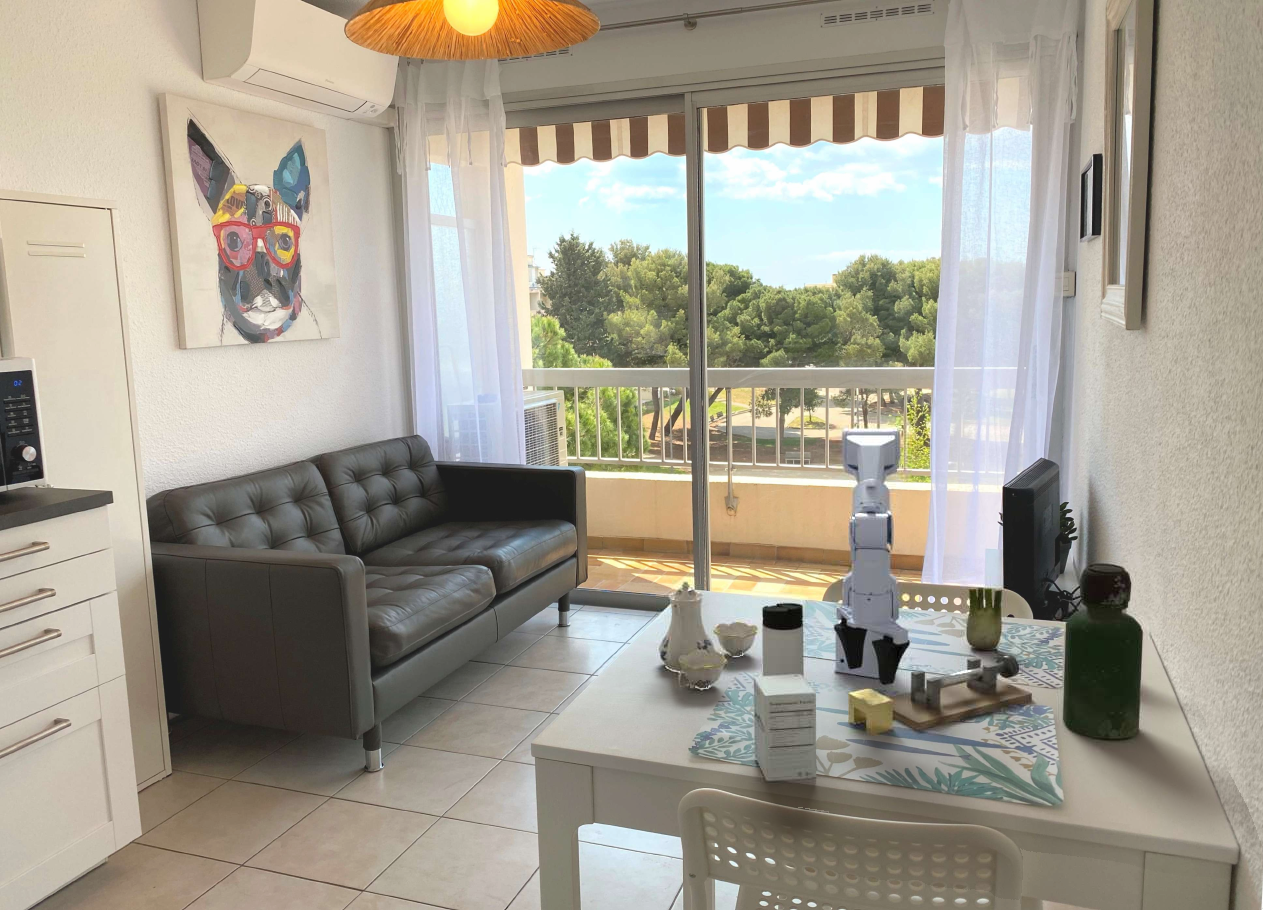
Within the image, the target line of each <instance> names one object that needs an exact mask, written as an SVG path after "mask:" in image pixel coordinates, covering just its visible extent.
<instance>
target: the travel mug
mask: <svg viewBox="0 0 1263 910" xmlns="http://www.w3.org/2000/svg"><path fill="white" fill-rule="evenodd" d="M761 609H762V612H761V613H762V617H761V618H762V623H761V626H762V627H761V631H762V633H761V635H762V637H761V638H762V642H761V643H762V645H761V647H762V676H775V675H788V674H802V676H803V677H804V676H805V675H804V674H805V673H804V667H805V666H804V665H805V664H804V612H803V611H804V607H803V605H802V604H800V603H795V602H794V603H793V602H780V603H776V604H775V605H774V604H773V605H765V606H763V607H762V608H761ZM804 678H805V677H804Z"/></svg>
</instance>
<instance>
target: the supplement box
mask: <svg viewBox="0 0 1263 910" xmlns="http://www.w3.org/2000/svg"><path fill="white" fill-rule="evenodd" d="M816 697H817V695H816V692H815V690H814V689H813V688H812V686H811V685H810V684H809V682H808V681H807V680H806V678H805V677H803V676H802V674H788V675H775V676H763V675H762V676H754V677H753V704H754V705H753V707H754V708H753V709H754V710H753V717H754V718H753V721H754V724H753V725H754V729H753V730H754V759H755V758H756V759H757V761H758V762H757V761H756V762H757V764H758V763H759V764H758V766H759V768H760V770H761V772H762V774H763V776H764V778H765V781H767V782H776V781H777V782H778V781H779V782H780V781H789V780H791V781H793V780H805V779H806V780H807V778H808V779H815V778H816V777H817V698H816ZM756 759H755V760H756ZM814 777H815V778H814Z"/></svg>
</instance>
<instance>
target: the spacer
mask: <svg viewBox="0 0 1263 910" xmlns="http://www.w3.org/2000/svg"><path fill="white" fill-rule="evenodd" d="M849 721H851V722H852V723H858V722H862V723H864V722H863V721H866V722H865V723H866V730H865V731H866V733H868V734H869V735H871V736H872V735H876V734H879V733H884V732H888V731H892V730H893V726H894V725H893V721H894V717H893V700H891V699H889V697H888V696H885V695H884V694H882V693H879V692H878V691H875V690H873V689H871V688H870V687H869V688H865V689H860V690H856V691H852V692H848V722H849ZM851 722H850V723H851ZM852 723H851V724H852ZM858 724H859V723H858Z"/></svg>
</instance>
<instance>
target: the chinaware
mask: <svg viewBox="0 0 1263 910" xmlns="http://www.w3.org/2000/svg"><path fill="white" fill-rule="evenodd" d="M690 586H691V585H690V584H689V582H688V581H683V582H682V585H681V587H679V588H678V589H677V590H676V591H675V592H672V593H670V594H668V597H667V598H669V601H670V602H669V603H670V606H671V616H670V617H671V619H670V622H669V623H670V624H669V627H668V630H667V632H666V634H665V635H664V638H663V639H662V641H661V643H660V644H659V647H658V652H659V654H660V659H661V661H662V662H663V663H664V664H666V666H667V667H668V668H669V669H672V670H676V671H680V673H678V677H677V679H678V685H679V686H680V687H682V688H686V687H688V686H689V689H692V690H693V689H695V688H694V687H695V685H696V686H697V687H699V688H706V687H707V688H708V686H709V685H713V684H715V683H716V682H717V681H718V680H719V679H720V677H721V675H722V674H723V673H722V672H723V669H724V666H725V665H727V664H728V658H725V655H724V654H723V653H722V652H721V651H717V650H716V649H715V646H714V643H713V642H712V640H711V638H710V637H709V635H708V634H707V632H706V630H705V627H704V624H703V619H702V602H703V599H704V594H703V593H701V592H698V591H696V590H695V589H693V587H690ZM758 632H759V626H758V625H754V624H753V625H749V624H748V623H746V622H744V621H734V622H732V623H729V624H726V623H724V622H723V623H718V624H717V625H715V628H714V629H713V634H714V635H716V637H717V641H718V643H719V645H720V647H722V649H723V650H724V651H725V652H727V653H730V655H731V656H740V655H742V653H743V654H745V653H746V652H747V651H749V650H750V648H752V646H753V644H754V642H755V639H756V635H757V634H758ZM683 672H684V674H682V673H683ZM682 675H684V677H685V678H686V679H687V681H688V682H687V683H686V684H682V682H681V679H682Z"/></svg>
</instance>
